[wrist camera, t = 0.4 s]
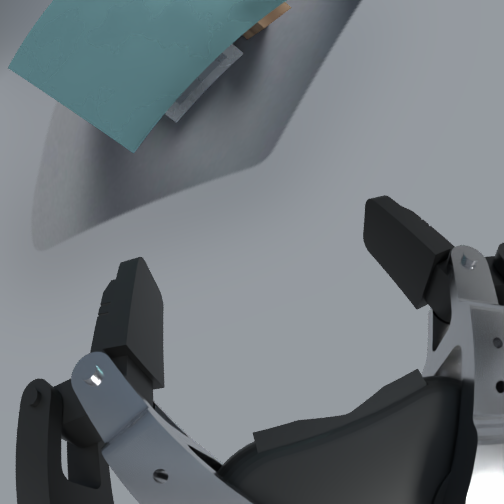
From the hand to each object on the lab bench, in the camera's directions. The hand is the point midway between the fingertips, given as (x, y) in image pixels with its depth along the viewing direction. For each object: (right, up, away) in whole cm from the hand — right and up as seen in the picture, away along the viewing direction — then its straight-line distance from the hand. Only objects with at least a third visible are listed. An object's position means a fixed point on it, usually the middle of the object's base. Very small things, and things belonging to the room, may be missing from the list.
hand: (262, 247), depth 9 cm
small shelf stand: (-10, +23, +16) cm, 30 cm away
